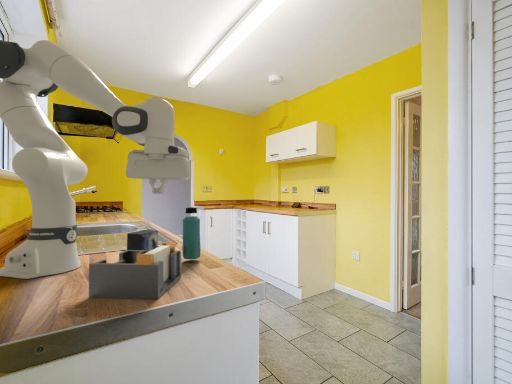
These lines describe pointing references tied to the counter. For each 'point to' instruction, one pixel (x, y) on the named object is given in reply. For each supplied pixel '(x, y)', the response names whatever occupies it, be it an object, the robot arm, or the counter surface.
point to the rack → (133, 275)
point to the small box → (142, 240)
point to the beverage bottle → (191, 235)
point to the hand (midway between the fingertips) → (158, 193)
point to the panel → (162, 259)
